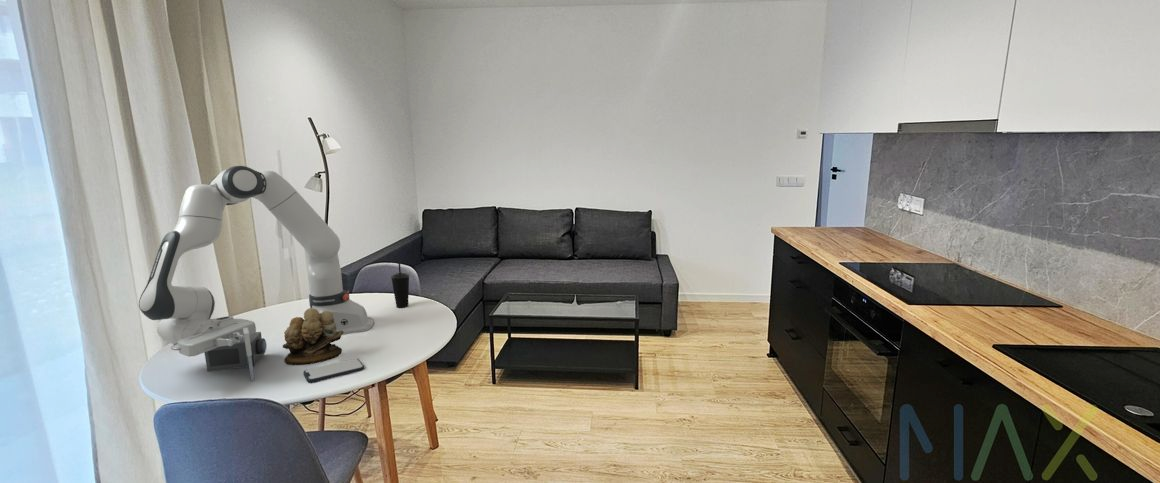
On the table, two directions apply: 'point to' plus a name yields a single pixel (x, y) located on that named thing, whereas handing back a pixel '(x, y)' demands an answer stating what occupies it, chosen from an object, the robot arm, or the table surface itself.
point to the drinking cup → (401, 288)
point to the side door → (248, 352)
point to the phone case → (333, 370)
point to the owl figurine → (312, 338)
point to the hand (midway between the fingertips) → (237, 340)
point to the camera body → (235, 354)
